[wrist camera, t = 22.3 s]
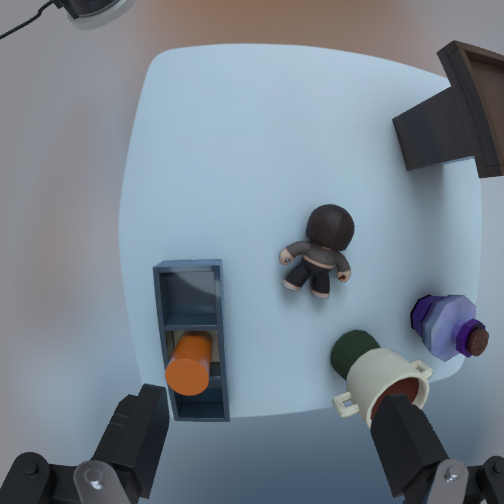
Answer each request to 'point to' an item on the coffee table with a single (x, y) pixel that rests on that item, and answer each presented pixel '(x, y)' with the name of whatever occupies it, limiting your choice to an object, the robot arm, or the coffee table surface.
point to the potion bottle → (449, 326)
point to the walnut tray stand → (459, 114)
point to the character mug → (375, 375)
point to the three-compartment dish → (194, 319)
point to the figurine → (320, 250)
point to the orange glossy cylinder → (190, 363)
